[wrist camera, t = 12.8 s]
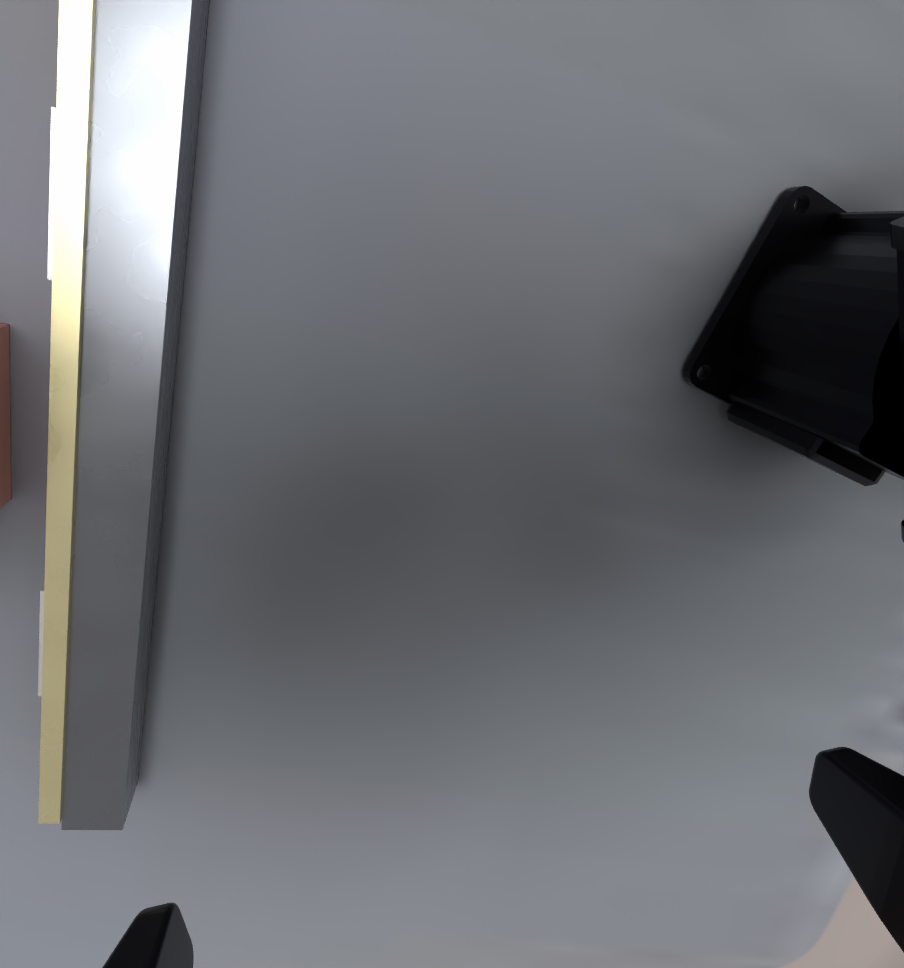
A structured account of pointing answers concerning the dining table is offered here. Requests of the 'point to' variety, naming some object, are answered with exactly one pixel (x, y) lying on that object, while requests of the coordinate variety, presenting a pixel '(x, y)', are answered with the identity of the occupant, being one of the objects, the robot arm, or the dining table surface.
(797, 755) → the dining table surface
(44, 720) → the price rail
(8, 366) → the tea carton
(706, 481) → the dining table surface
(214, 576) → the dining table surface
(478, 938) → the dining table surface
